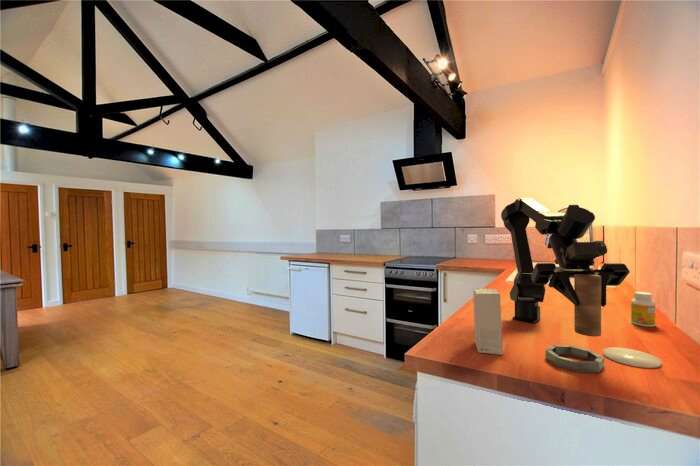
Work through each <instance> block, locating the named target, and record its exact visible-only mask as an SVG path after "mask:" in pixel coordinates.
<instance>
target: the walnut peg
mask: <svg viewBox="0 0 700 466" xmlns="http://www.w3.org/2000/svg"><path fill="white" fill-rule="evenodd" d="M573 279H574V281H573V282H574V283H573V284H574V286H573V289H574V291H575V293H576V295H577V297H578V301H579V305H578V306H575V305H574V304H573V305H574V307H573V308H574V332H575V333H577V334H579V335H582V336H585V337H586V336H587V337H593V338H594V337H601V336H602V306H601V276H599V275H593V274H575V275H574V278H573Z"/></svg>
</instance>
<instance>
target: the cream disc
mask: <svg viewBox="0 0 700 466" xmlns="http://www.w3.org/2000/svg"><path fill="white" fill-rule="evenodd" d="M602 354H603V356H604V357H606V358H607V359H609V360H611V361H613V362H616V363H619V364H622V365H628V366H631V367H638V368H642V369H643V368H644V369H656V368H661V367H662V360H661V359H660V358H659V357H657V356H655V355H652V354H650V353H647V352H643V351H639V350H637V349H632V348H631V349H630V348H626V347H625V348H624V347H615V346H614V347H605V348H603V350H602Z"/></svg>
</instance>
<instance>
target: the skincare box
mask: <svg viewBox="0 0 700 466" xmlns="http://www.w3.org/2000/svg"><path fill="white" fill-rule="evenodd" d="M472 290H473V321H474V322H473V325H474V342H475V347H476V350H477V353H480V354H490V355H498V356H499V355H500V356H502V355H504V352H503V333H502V332H503V331H502V329H503V328H502V309H501V293H500V292H499V291H498V290H497V289H496V288H473V289H472Z"/></svg>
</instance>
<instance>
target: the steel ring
mask: <svg viewBox="0 0 700 466" xmlns="http://www.w3.org/2000/svg"><path fill="white" fill-rule="evenodd" d="M563 356H572V357H576V358H580V359H584V360H575V359H571V358H567V357H563ZM545 359H546V360H547V361H549V362H550V363H551V364H553V365H554V366H555V367H559V368H561V369H565V370H568V371H573V372H576V373H581V374H582V373H584V374H585V373H586V374H587V373H593V374H599V373H601V371H602V370H603V369H604V368H605V357H603V356H602V355H600V354H598V353H596V352H595V351H593V350H591V349H586V348H582V347H578V346H575V345H571V344H570V345H569V344H568V345H565V344H563V345H562V344H559V345H558V344H552V345H550V346H549V347H547V348H546V349H545Z"/></svg>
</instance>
